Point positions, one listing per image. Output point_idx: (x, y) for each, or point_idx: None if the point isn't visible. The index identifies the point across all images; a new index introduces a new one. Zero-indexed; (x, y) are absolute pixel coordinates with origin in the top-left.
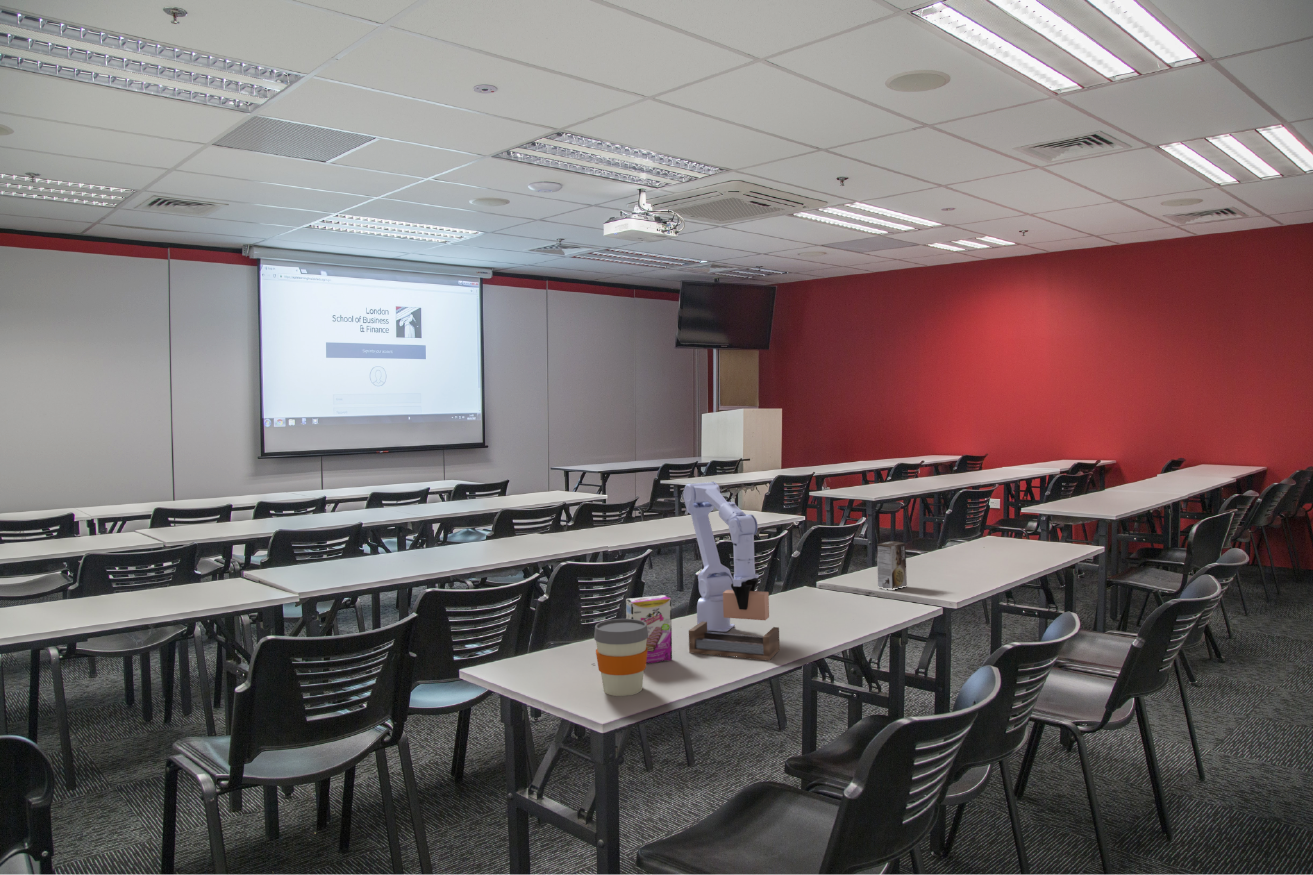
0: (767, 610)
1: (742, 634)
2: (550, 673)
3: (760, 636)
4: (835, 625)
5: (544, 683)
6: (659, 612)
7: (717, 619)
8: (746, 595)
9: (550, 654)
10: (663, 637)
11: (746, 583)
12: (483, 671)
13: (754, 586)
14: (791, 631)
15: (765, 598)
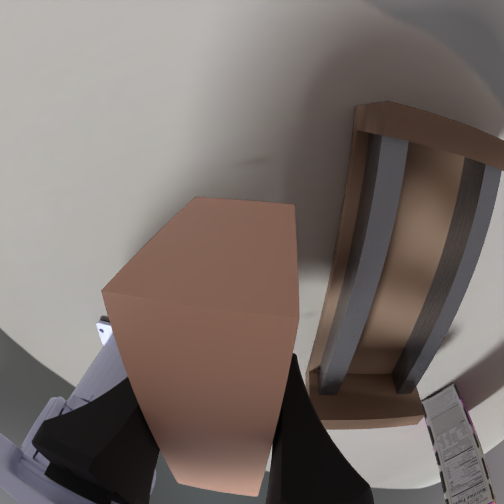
0: (222, 217)
1: (353, 285)
2: None
3: (380, 199)
4: (9, 39)
5: (492, 439)
6: (490, 478)
7: None
8: (328, 437)
9: (383, 482)
10: (474, 429)
11: (133, 482)
12: (434, 482)
13: (119, 435)
14: (77, 127)
15: (260, 280)
